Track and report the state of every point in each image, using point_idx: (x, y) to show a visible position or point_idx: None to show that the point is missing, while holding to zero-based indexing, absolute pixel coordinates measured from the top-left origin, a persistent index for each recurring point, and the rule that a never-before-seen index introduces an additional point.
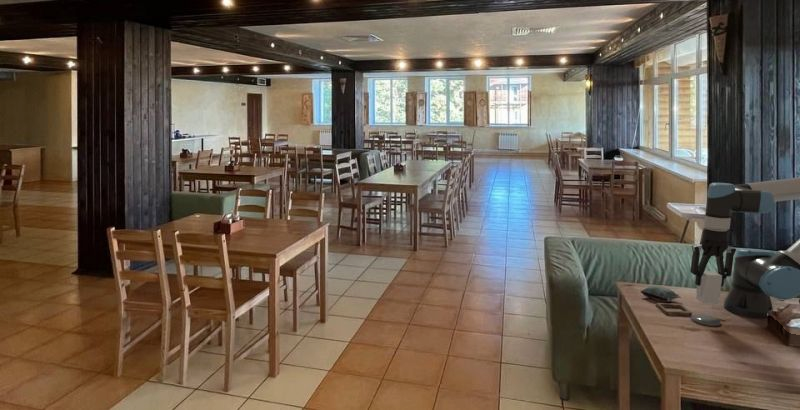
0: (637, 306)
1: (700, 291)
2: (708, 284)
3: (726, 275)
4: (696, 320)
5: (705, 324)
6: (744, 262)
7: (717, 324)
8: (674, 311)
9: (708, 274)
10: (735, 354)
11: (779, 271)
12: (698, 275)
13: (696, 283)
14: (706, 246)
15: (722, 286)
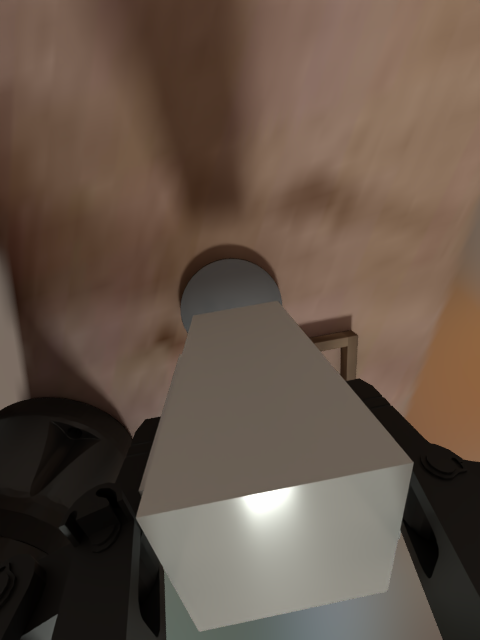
0: (408, 377)
1: None
2: (298, 368)
3: (58, 568)
4: (273, 282)
5: (245, 260)
6: None
7: (199, 271)
8: (326, 345)
9: (362, 496)
10: None
11: None
12: (454, 461)
13: (373, 395)
14: None
15: (147, 421)
